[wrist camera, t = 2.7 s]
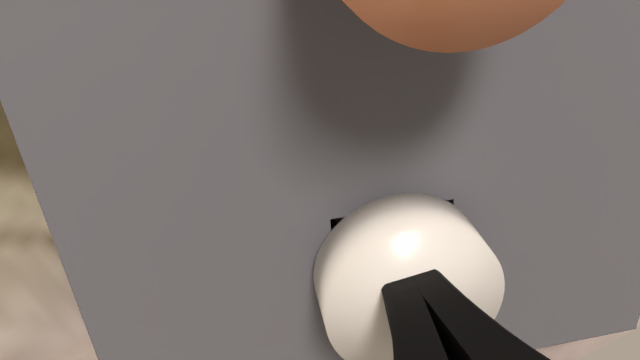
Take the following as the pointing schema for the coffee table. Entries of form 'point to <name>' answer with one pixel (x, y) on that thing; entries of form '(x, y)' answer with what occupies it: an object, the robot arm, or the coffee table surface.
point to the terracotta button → (452, 21)
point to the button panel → (316, 162)
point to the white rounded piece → (397, 267)
